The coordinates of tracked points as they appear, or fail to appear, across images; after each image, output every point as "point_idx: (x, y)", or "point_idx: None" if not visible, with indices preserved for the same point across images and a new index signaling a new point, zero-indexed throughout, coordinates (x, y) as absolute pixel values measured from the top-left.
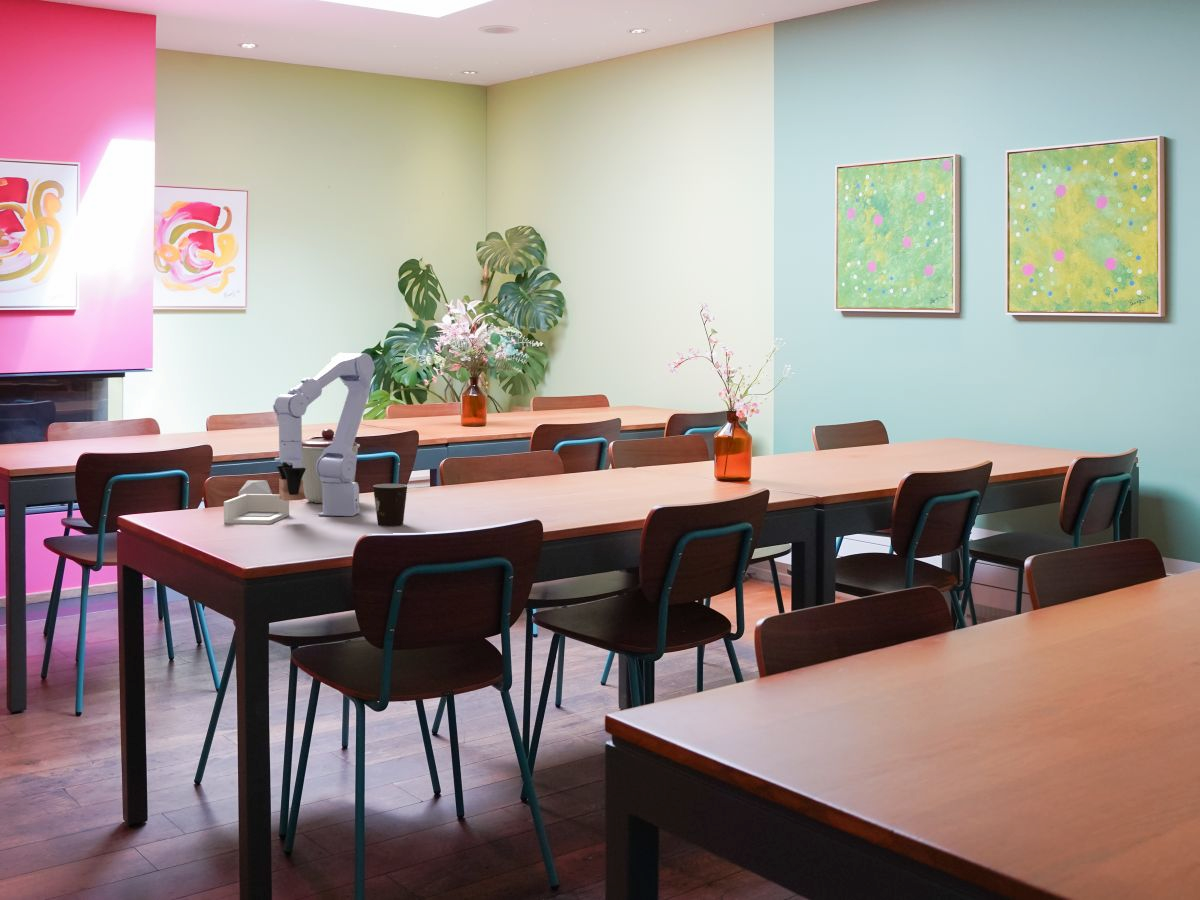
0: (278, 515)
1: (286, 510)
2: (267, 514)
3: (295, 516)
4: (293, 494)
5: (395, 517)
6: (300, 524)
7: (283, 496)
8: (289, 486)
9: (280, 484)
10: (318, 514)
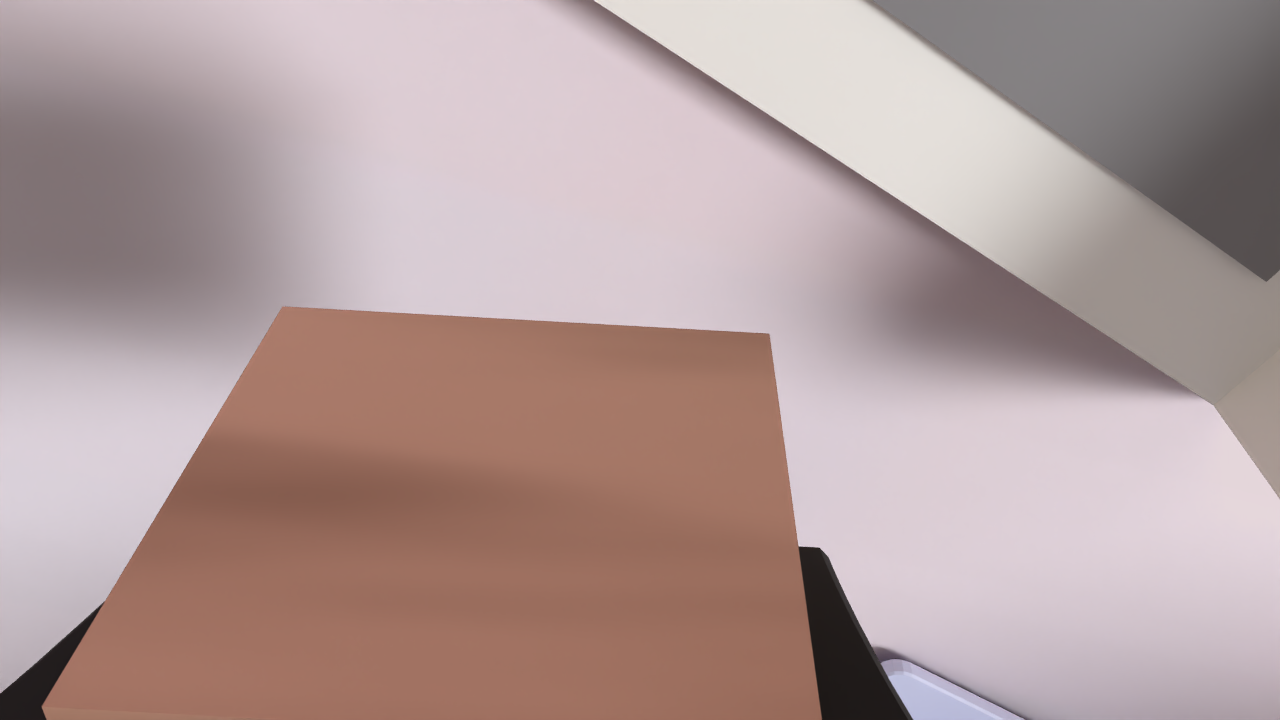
0: (923, 176)
1: (1241, 405)
2: (1083, 6)
3: (1057, 438)
4: None
5: None
6: (228, 291)
7: (271, 364)
8: (46, 672)
9: (593, 594)
10: (888, 667)
